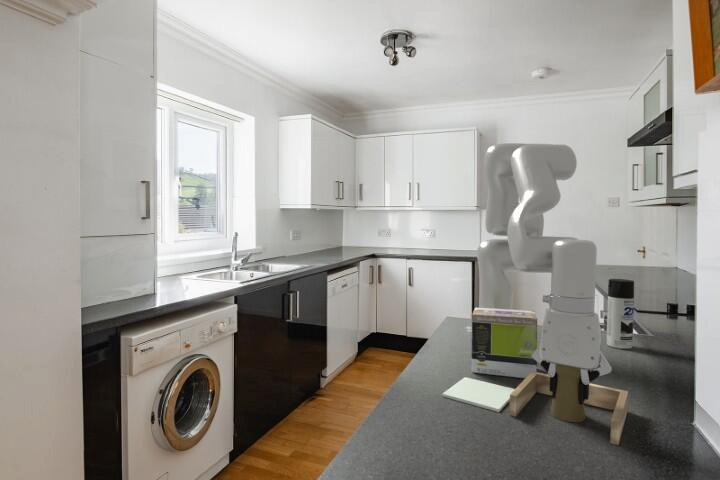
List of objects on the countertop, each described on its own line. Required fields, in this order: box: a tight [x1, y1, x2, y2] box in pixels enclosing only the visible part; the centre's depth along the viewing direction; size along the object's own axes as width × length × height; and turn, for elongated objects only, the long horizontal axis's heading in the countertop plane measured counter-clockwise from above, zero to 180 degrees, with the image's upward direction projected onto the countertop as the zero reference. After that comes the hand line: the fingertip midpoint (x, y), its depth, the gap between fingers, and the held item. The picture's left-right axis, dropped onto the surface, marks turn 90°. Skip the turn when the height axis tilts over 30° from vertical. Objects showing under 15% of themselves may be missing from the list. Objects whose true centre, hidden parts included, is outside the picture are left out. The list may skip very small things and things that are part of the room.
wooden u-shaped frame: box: [509, 371, 629, 446], centre depth 83 cm, size 18×16×4 cm
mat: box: [441, 376, 516, 413], centre depth 92 cm, size 12×12×1 cm
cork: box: [550, 364, 586, 423], centre depth 82 cm, size 6×6×11 cm
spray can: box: [606, 278, 635, 350], centre depth 127 cm, size 7×7×20 cm
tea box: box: [470, 307, 538, 379], centre depth 106 cm, size 15×10×15 cm
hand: (568, 398), depth 82 cm, fingers closed on cork, 3 cm apart
